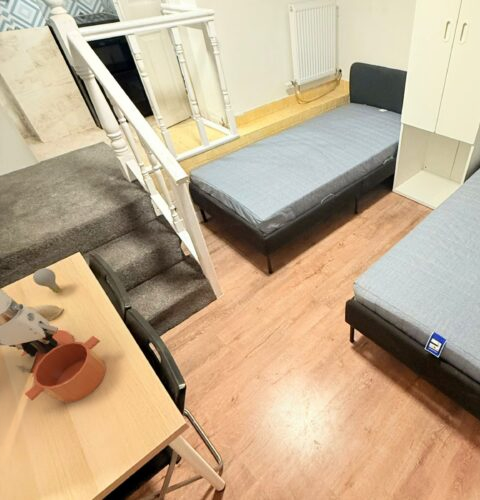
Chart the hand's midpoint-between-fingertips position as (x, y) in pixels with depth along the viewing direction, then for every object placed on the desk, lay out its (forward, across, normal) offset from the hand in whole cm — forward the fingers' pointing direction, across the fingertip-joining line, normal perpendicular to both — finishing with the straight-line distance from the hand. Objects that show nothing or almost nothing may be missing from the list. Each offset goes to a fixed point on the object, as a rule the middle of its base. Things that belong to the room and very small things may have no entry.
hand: (44, 349), depth 94 cm
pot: (+2, -11, +11) cm, 16 cm away
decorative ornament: (+2, +4, -14) cm, 15 cm away
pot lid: (+1, 0, 0) cm, 1 cm away
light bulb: (+2, +4, -24) cm, 24 cm away
